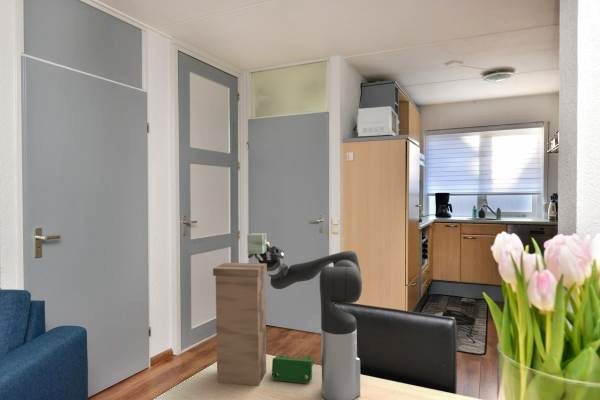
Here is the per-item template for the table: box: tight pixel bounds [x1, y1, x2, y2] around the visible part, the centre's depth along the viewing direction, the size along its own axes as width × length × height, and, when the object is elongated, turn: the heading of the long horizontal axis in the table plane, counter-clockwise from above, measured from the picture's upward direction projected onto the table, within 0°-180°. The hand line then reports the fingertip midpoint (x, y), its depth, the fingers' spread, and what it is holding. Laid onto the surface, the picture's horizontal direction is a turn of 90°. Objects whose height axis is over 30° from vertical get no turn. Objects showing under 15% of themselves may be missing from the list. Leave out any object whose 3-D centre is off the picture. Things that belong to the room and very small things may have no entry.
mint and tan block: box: [246, 232, 271, 254], centre depth 131 cm, size 14×5×6 cm, turn 170°
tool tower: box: [212, 262, 267, 386], centre depth 110 cm, size 9×13×32 cm
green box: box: [271, 355, 315, 384], centre depth 110 cm, size 12×6×9 cm, turn 72°
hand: (259, 244), depth 129 cm, fingers closed on mint and tan block, 2 cm apart
